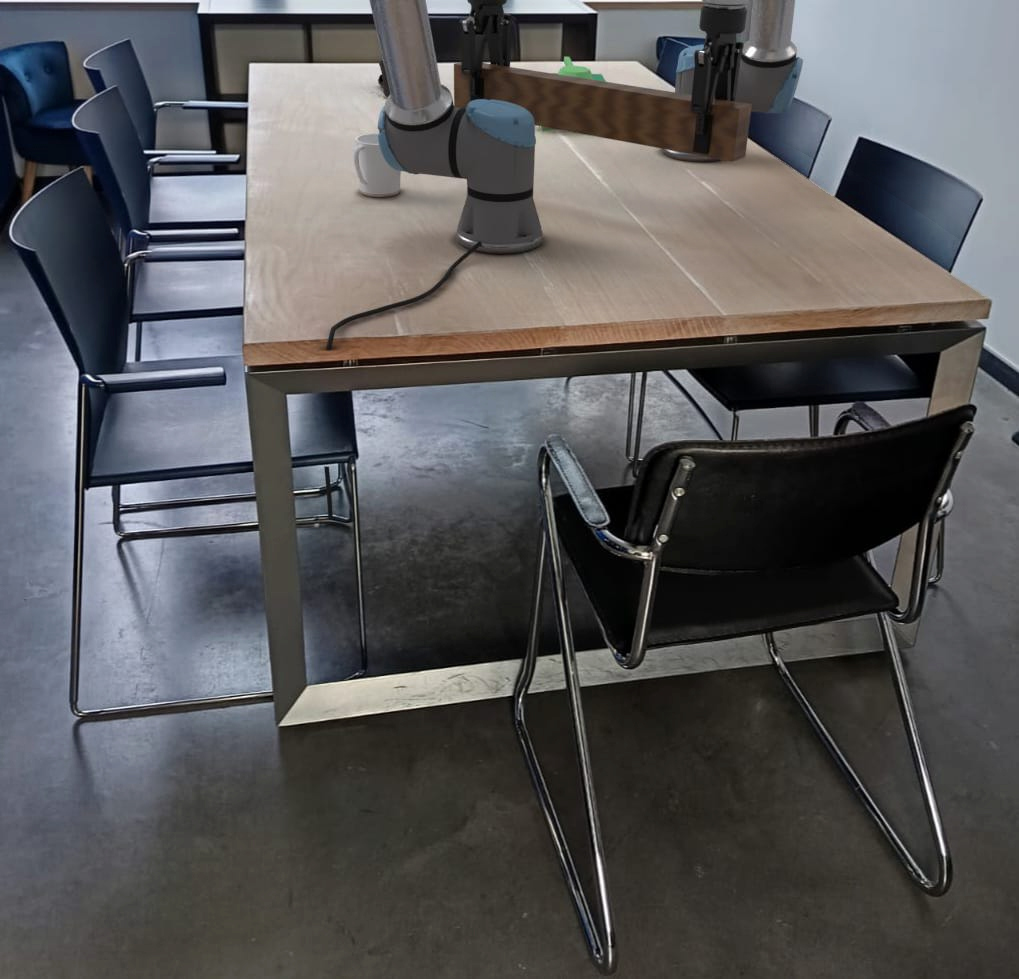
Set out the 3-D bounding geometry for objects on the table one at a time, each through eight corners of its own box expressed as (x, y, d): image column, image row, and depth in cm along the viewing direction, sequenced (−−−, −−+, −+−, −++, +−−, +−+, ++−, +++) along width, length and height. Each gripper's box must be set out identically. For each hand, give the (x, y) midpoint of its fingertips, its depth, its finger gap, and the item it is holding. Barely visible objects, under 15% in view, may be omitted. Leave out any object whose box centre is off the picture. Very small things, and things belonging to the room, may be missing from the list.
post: (454, 110, 218) (453, 63, 214) (468, 106, 221) (468, 60, 217) (733, 161, 187) (739, 108, 183) (745, 156, 190) (752, 104, 186)
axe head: (443, 87, 294) (392, 77, 287) (436, 115, 299) (385, 106, 292) (421, 62, 307) (371, 52, 300) (414, 89, 311) (365, 80, 304)
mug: (380, 182, 225) (378, 131, 219) (411, 190, 220) (410, 138, 215) (340, 193, 218) (337, 140, 212) (372, 202, 213) (370, 149, 207)
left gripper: (472, -14, 196) (471, 120, 208) (532, -21, 209) (527, 105, 221) (440, -18, 200) (441, 114, 212) (501, -25, 212) (498, 100, 224)
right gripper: (720, 13, 171) (703, 163, 183) (769, 2, 184) (750, 143, 196) (678, 8, 175) (664, 155, 187) (728, -3, 187) (712, 136, 199)
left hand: (485, 109), depth 216 cm, fingers closed on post, 5 cm apart
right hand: (708, 149), depth 191 cm, fingers closed on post, 5 cm apart
